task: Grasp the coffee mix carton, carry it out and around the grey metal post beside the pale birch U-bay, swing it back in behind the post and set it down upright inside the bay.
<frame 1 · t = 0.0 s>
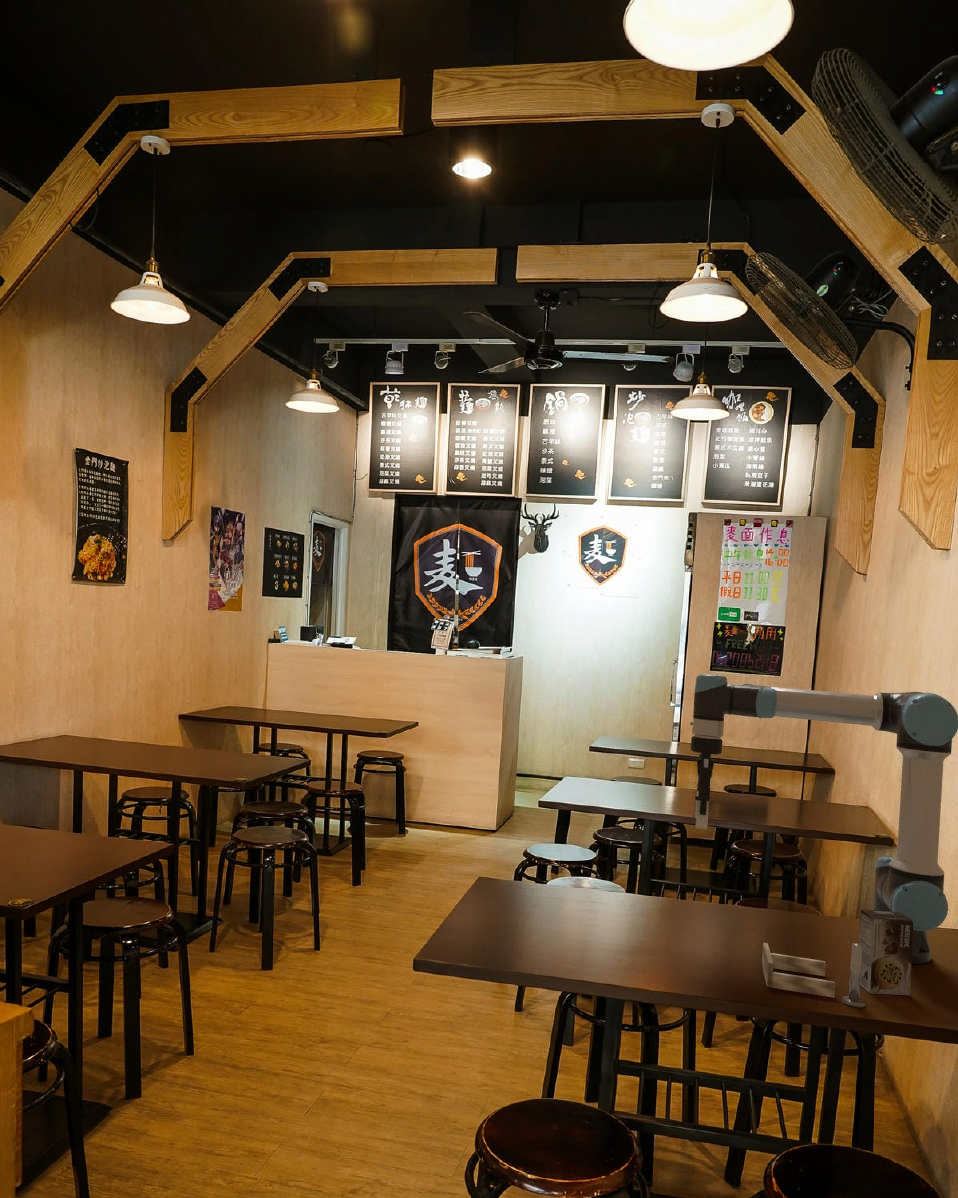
hand: (700, 823, 220), 28 cm above the table, fingers open, 13 cm apart
bay: (797, 981, 195), on the table
coffee box: (882, 990, 194), on the table
post: (853, 1003, 185), on the table
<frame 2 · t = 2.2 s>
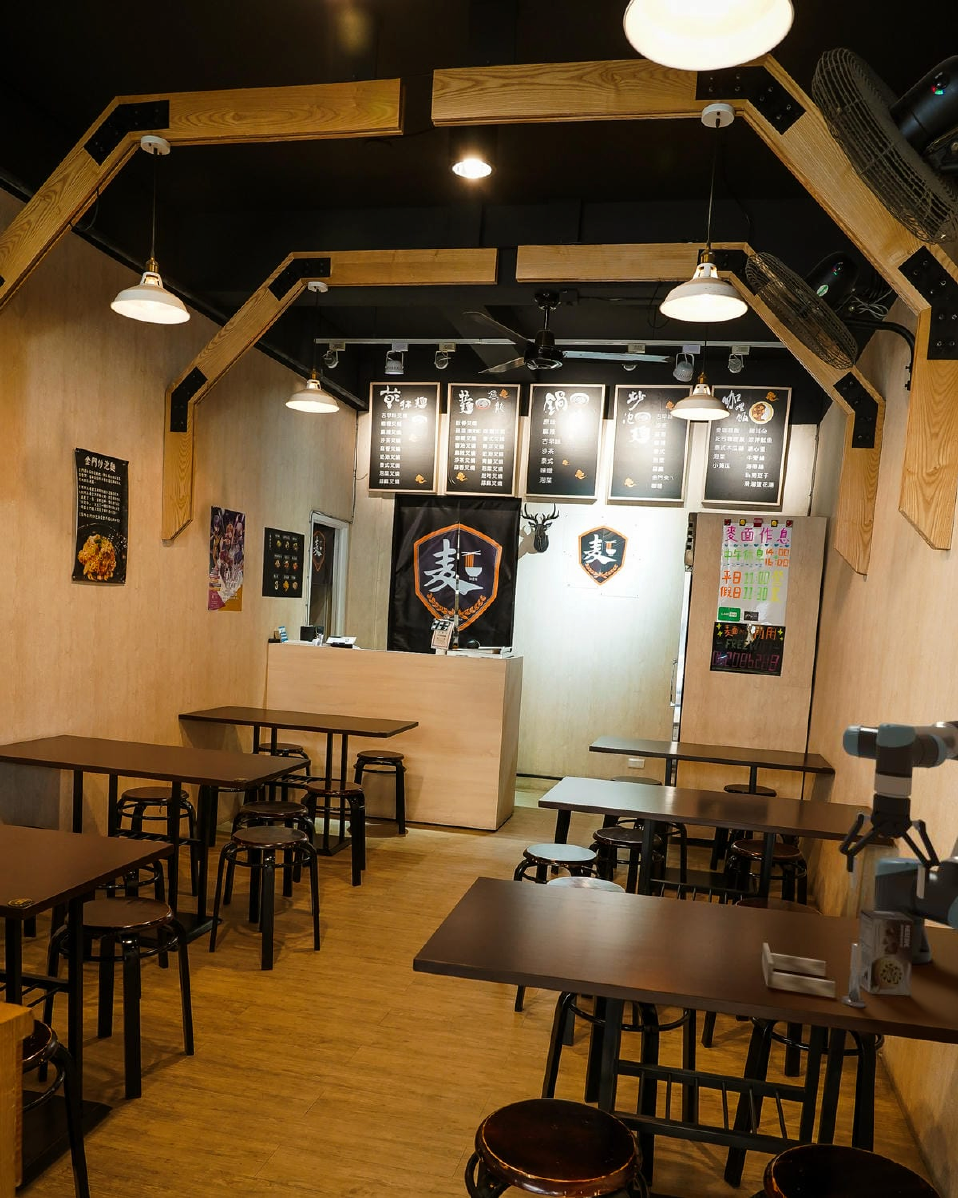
hand: (886, 892, 196), 21 cm above the table, fingers open, 13 cm apart
nothing on the table moved.
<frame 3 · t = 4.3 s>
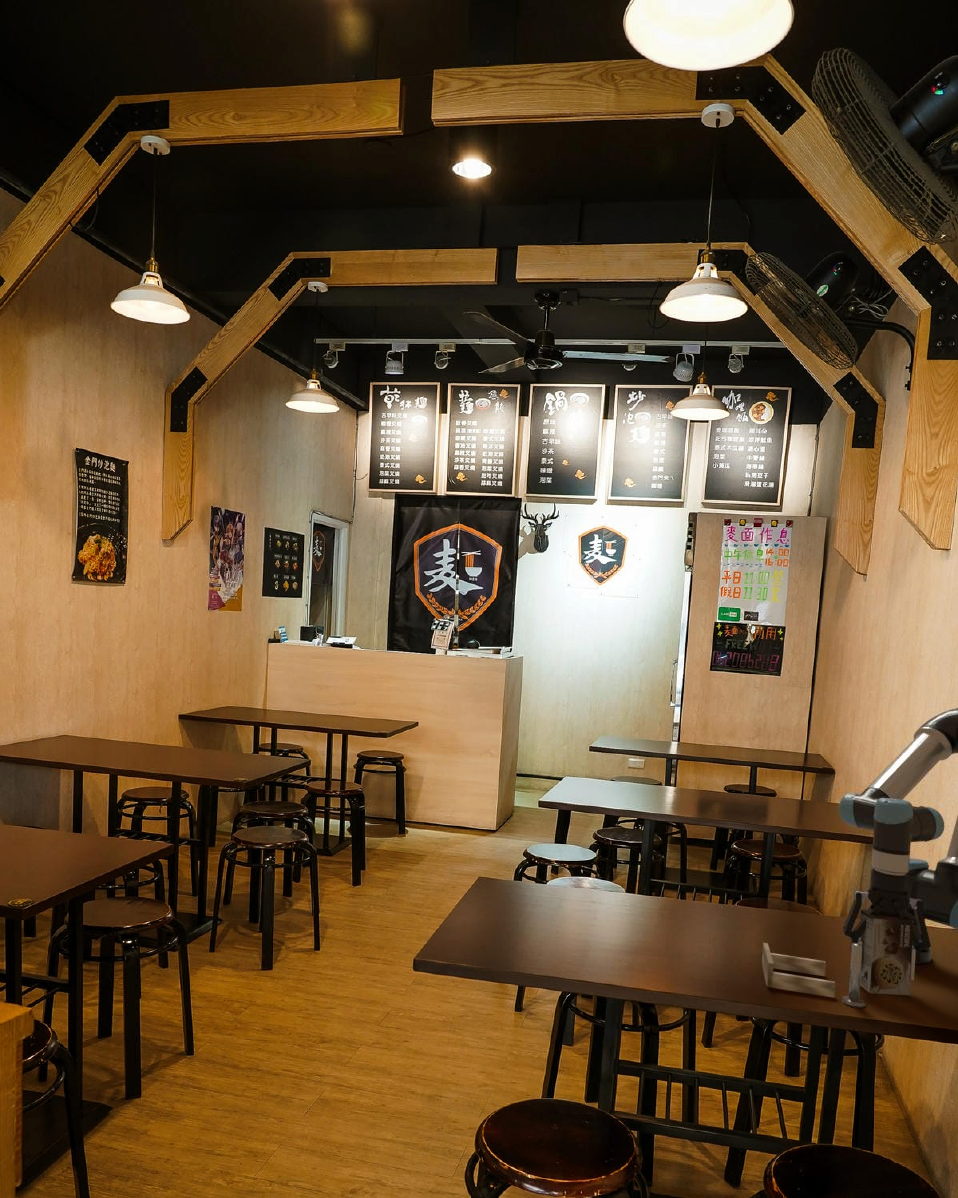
hand: (883, 974, 195), 3 cm above the table, fingers closed on coffee box, 10 cm apart
coffee box: (882, 990, 194), on the table, touching gripper
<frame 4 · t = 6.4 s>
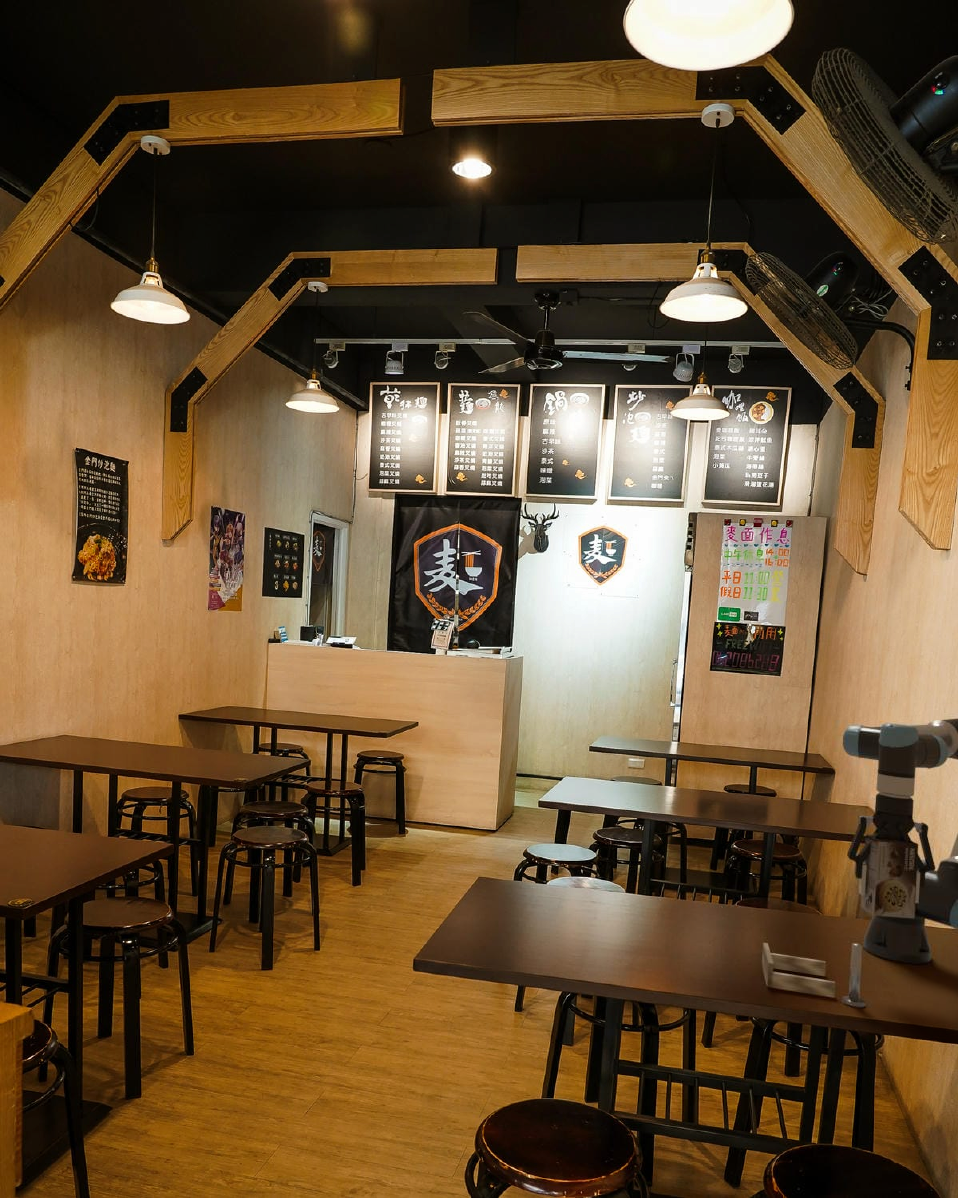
hand: (888, 897, 195), 20 cm above the table, fingers closed on coffee box, 10 cm apart
coffee box: (886, 914, 194), point 16 cm above the table, touching gripper
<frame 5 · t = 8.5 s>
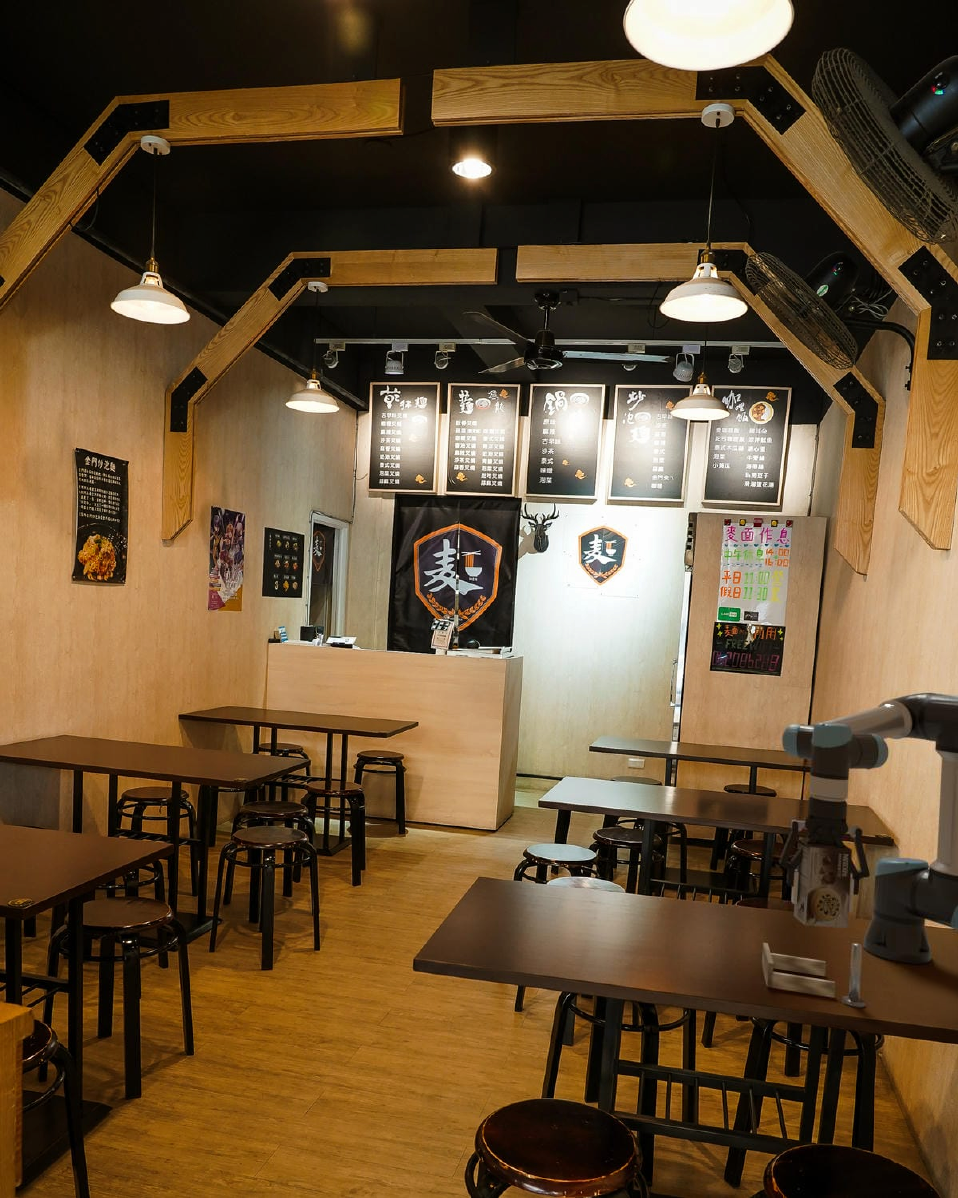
hand: (821, 906, 184), 19 cm above the table, fingers closed on coffee box, 10 cm apart
coffee box: (820, 923, 184), point 16 cm above the table, touching gripper
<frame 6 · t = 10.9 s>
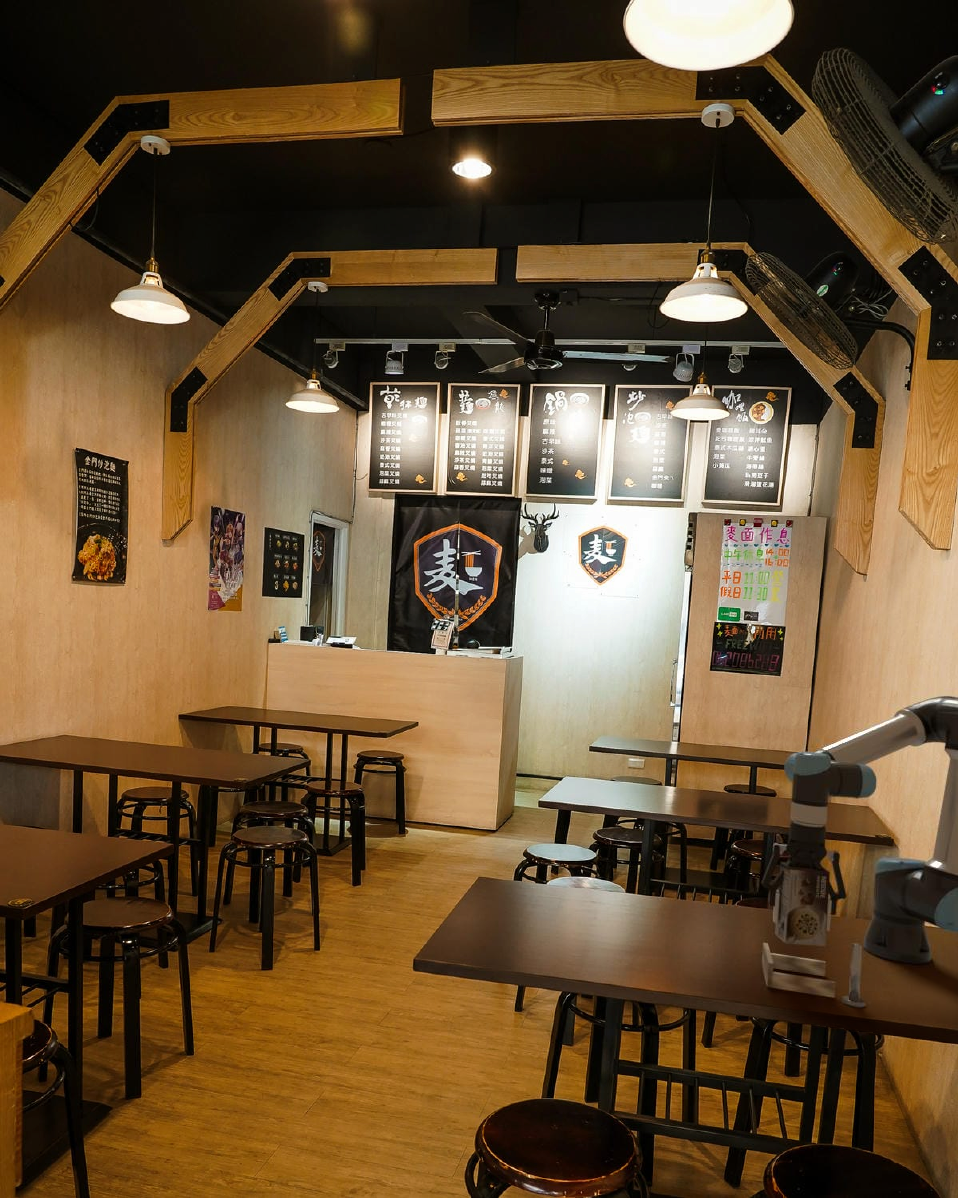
hand: (800, 925, 196), 12 cm above the table, fingers closed on coffee box, 10 cm apart
coffee box: (799, 941, 195), point 9 cm above the table, touching gripper
when the fingers open (6 cm above the table, at t = 12.6 s): coffee box drops 2 cm, on the table.
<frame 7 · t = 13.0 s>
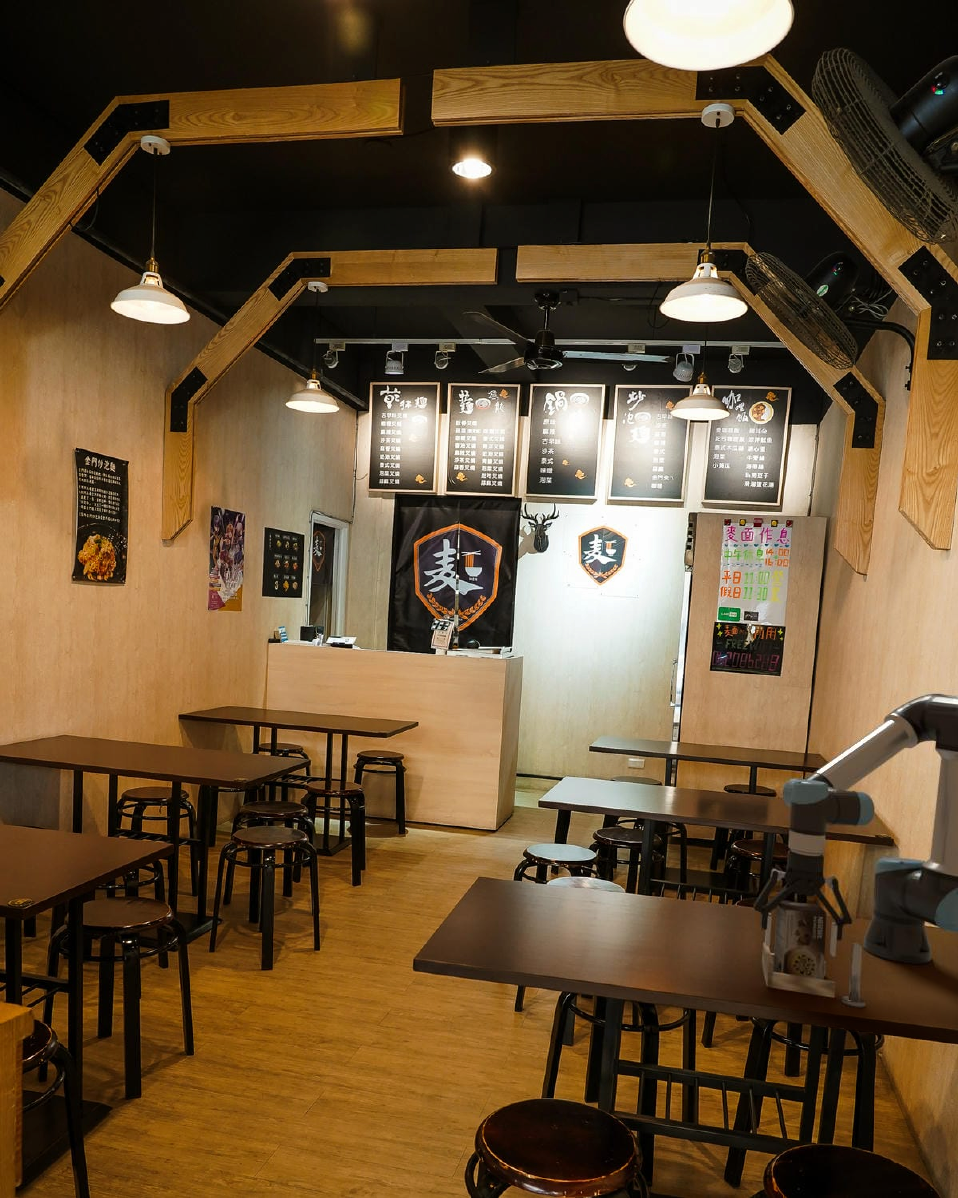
hand: (799, 949, 195), 7 cm above the table, fingers open, 13 cm apart
coffee box: (797, 982, 195), on the table
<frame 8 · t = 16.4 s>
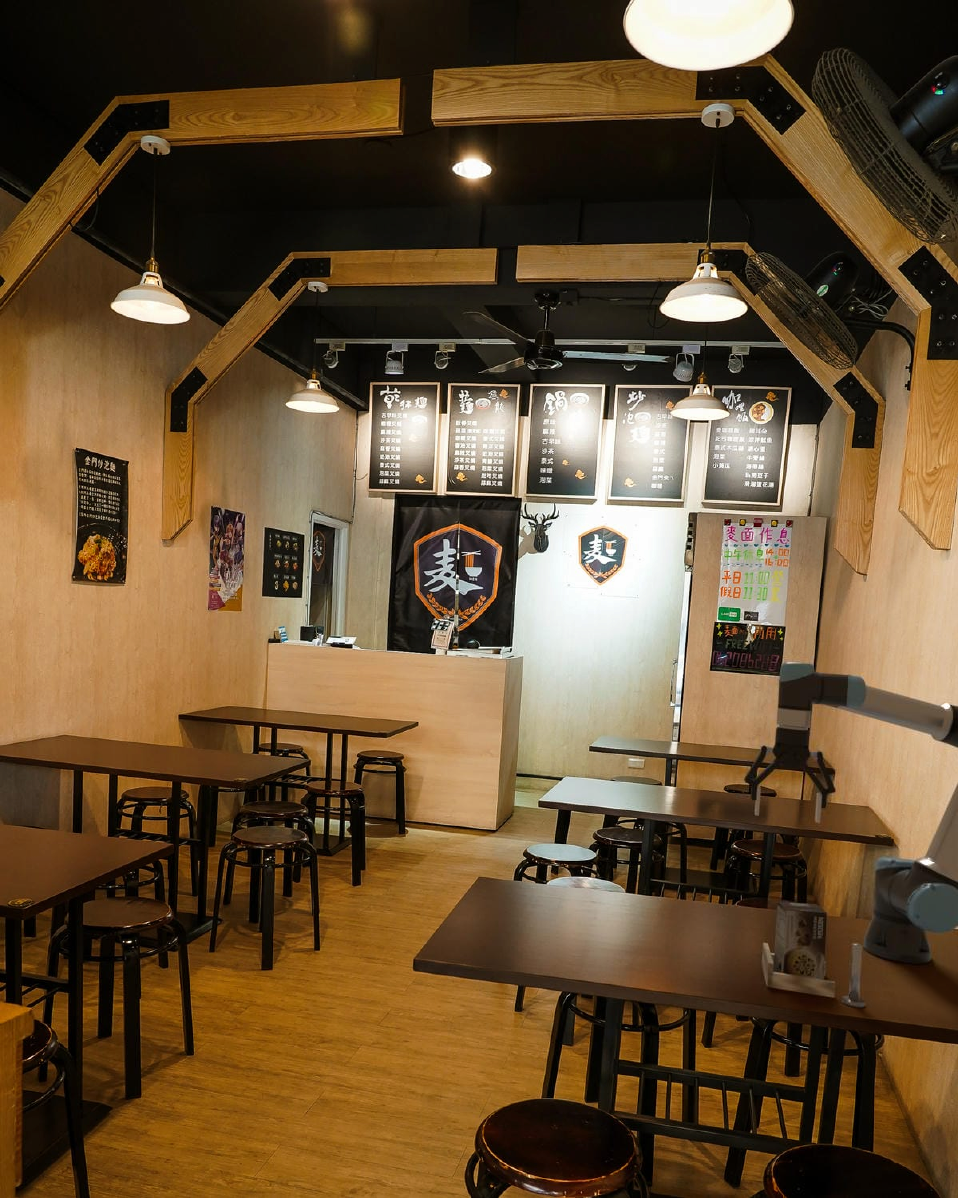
hand: (786, 818, 210), 33 cm above the table, fingers open, 13 cm apart
nothing on the table moved.
at the end: coffee box inside the target area on the bay (0.0 cm from its centre), point 0.0 cm above the bay's base; coffee box tilted 0°; the gripper is holding nothing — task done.
